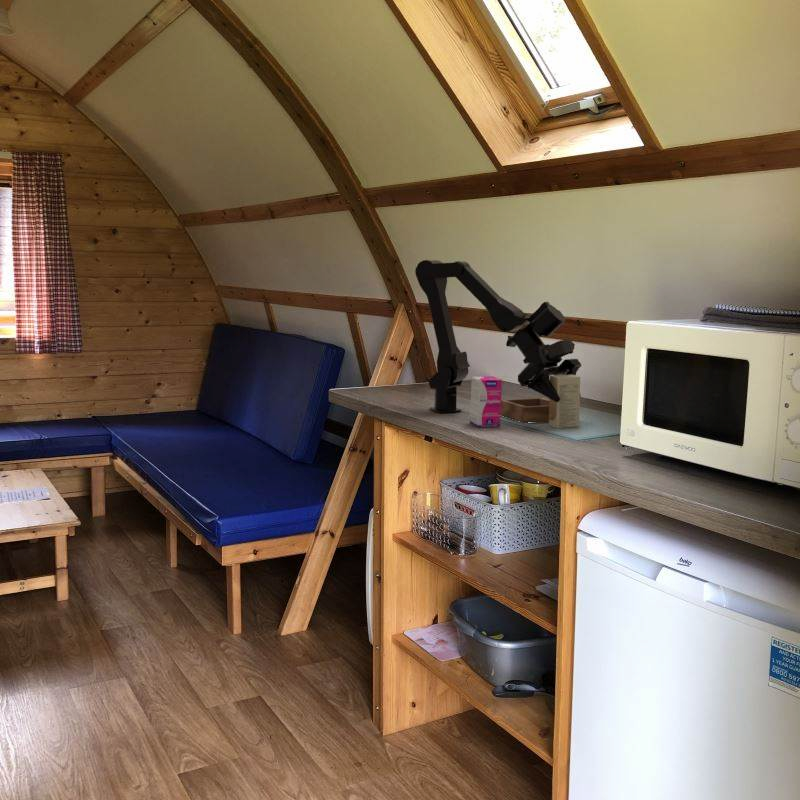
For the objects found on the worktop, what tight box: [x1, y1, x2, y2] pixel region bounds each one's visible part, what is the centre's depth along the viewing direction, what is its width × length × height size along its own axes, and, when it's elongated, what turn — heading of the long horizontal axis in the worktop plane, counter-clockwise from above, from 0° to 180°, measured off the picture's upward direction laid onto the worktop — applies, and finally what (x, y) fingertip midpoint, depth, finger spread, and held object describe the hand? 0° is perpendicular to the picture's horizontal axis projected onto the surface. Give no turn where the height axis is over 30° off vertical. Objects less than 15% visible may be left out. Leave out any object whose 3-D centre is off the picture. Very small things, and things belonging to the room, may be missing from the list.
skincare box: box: [548, 374, 581, 429], centre depth 211 cm, size 6×4×12 cm
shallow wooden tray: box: [500, 397, 549, 424], centre depth 222 cm, size 12×12×4 cm
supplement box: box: [469, 375, 503, 428], centre depth 211 cm, size 6×6×12 cm
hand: (569, 399), depth 210 cm, fingers open, 8 cm apart
